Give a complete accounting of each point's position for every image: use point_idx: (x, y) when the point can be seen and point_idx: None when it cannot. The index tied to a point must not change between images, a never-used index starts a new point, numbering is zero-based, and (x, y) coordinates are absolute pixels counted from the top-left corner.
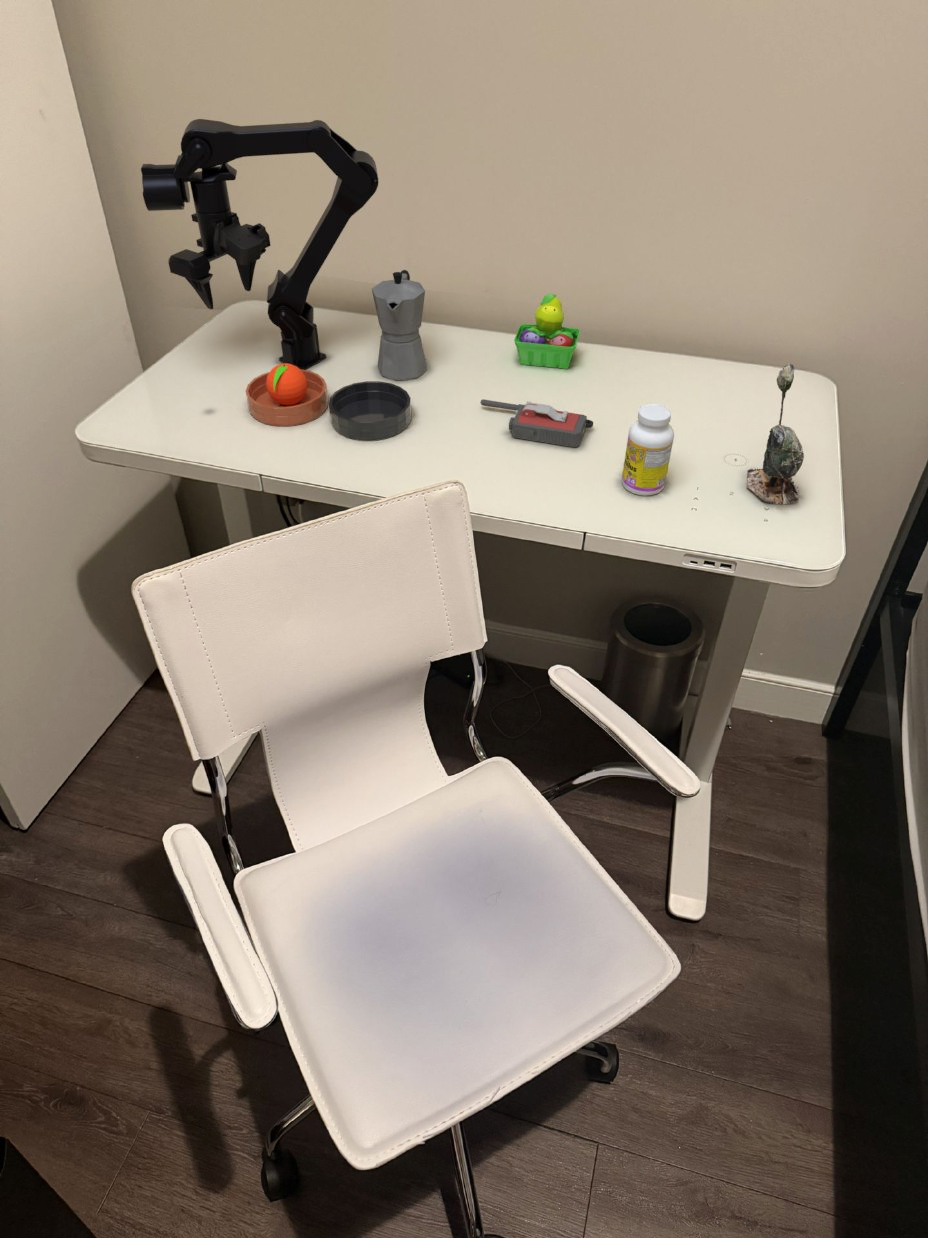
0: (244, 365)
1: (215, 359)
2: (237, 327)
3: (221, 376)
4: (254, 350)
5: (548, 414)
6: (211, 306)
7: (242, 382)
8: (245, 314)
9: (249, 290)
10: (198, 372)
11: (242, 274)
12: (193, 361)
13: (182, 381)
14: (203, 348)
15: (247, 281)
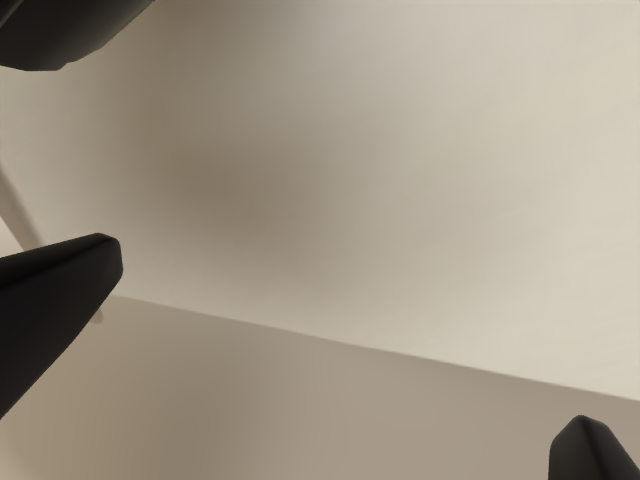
0: (429, 105)
1: (414, 239)
2: (192, 255)
3: (560, 156)
4: (294, 129)
5: None
6: (623, 451)
7: (618, 19)
8: (123, 262)
9: (111, 237)
10: (537, 258)
11: (3, 377)
12: (451, 301)
13: (632, 287)
14: (353, 301)
15: (44, 293)
